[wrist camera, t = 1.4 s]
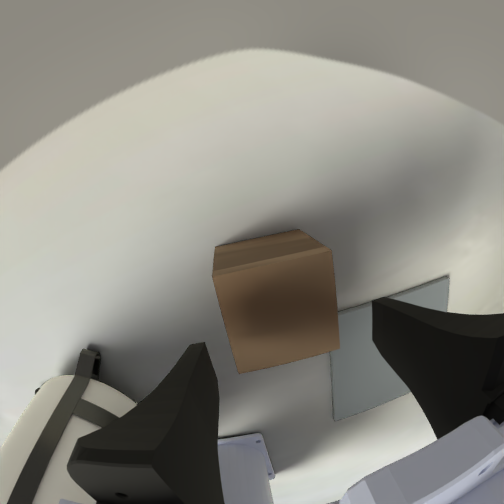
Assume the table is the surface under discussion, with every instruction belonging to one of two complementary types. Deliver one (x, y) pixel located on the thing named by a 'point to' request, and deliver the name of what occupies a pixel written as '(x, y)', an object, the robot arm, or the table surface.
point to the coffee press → (57, 435)
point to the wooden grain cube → (277, 299)
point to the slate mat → (372, 354)
